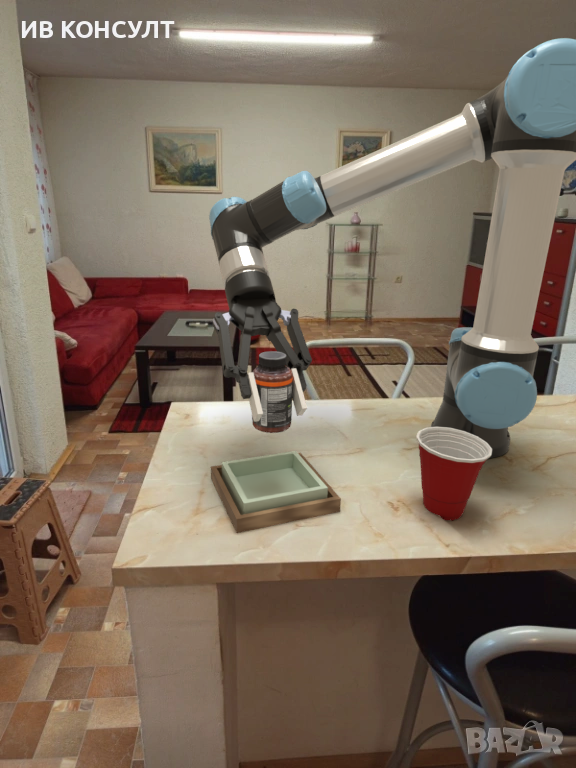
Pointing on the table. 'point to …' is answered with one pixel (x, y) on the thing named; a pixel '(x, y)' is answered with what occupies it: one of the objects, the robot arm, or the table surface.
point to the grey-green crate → (271, 482)
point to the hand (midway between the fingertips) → (280, 414)
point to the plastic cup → (449, 468)
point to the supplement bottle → (274, 392)
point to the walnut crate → (276, 514)
